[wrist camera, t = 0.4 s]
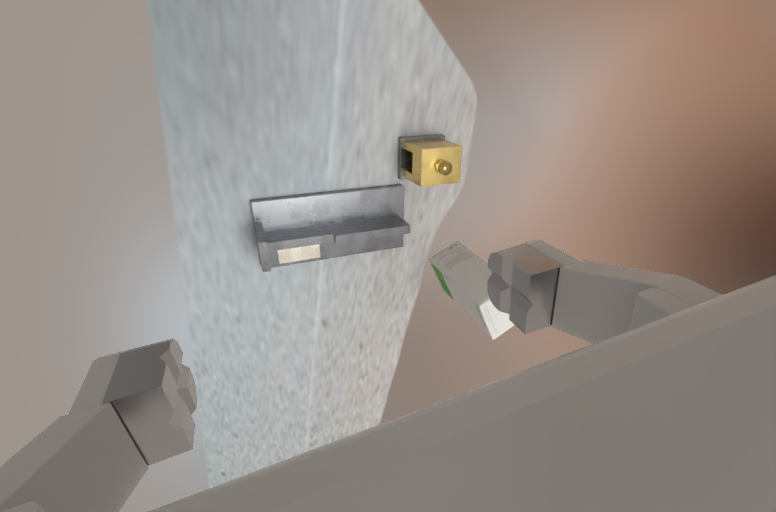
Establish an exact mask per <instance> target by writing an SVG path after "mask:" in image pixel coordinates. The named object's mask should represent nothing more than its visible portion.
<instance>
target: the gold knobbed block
mask: <svg viewBox="0 0 776 512" xmlns="http://www.w3.org/2000/svg"><path fill="white" fill-rule="evenodd" d="M404 149H406V150H408V151H410V152H412V153H413V159H412V169H404V176H405V177H406V178H408V179H409V180H411V181H413V182H414V183H416V184H417V185H419V186H421V187H422V186H431V185H440V184H450V183H459V182H460V170H461V158H462V146H460V145H458V144H455V143H452V142H449V141H446V140H443V139H436V140H421V141H406V142H404Z"/></svg>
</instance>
